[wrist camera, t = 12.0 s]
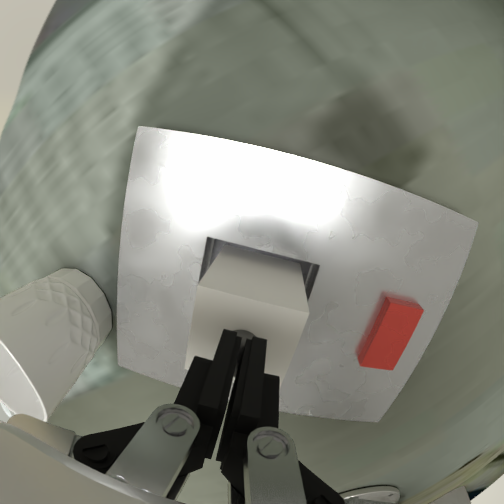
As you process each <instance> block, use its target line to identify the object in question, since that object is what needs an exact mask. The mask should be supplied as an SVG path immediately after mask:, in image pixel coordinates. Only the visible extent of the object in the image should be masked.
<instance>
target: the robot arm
mask: <svg viewBox="0 0 504 504" xmlns="http://www.w3.org/2000/svg"><path fill="white" fill-rule="evenodd" d="M241 340H242V337H239V336H237V332H235V331H231V330H227V329H223V332H222V335H221V338H220V341H219V344H218V347H217V350H216V352H215V355H214V358H213V360H209V359H206V358H202V357H199V356H194V358H193V361H192V363H191V365H190V368H189V370H188V372H187V375H186V377H185V379H184V382H183V384H182V386H181V388H180V391H179V393H178V395H177V398H176V400H175V402H174V404H165V405H162V406H160V407H158V408H157V409H155V410H154V411H153V412H152V414H151V415H150V416H149V418H148V419H147V420H146V422H143V423H139V424H135V425H131V426H127V427H123V428H119V429H114V430H109V431H105V432H100V433H95V434H89V435H86V436H83V437H82V436H79V435H76V433H75V432H74V431H71V430H68V429H64V428H61V427H58V426H56V425H53V424H50V423H47V422H44V421H42V420H39V419H37V418H34V417H32V416H29V415H26V414H16V415H14V416H12V417H11V418H10V419H9V420H8V422H7V423H6V422H3V421H0V504H185V503H181V502H178V501H176V500H177V498H178V496H179V494H180V493H181V491H182V489H183V487H184V485H185V483H186V481H187V479H188V477H189V475H190V473H191V472H193V471H196V470H198V469H200V468H202V467H203V463H204V459H205V458H208V459H211V458H212V454H213V451H214V448H215V444H216V441H217V438H218V434H219V431H220V428H221V424H222V421H223V418H224V414H225V410H226V407H227V402H228V398H229V394H230V389H231V385H232V380H233V376H234V372H235V367H236V363H237V358H238V354H239V349H240V345H241ZM266 348H267V339H263V338H259V337H255V336H253V337H252V340H251V339H246V342H245V345H244V349H243V352H242V356H241V359H240V363H239V366H238V370H237V373H236V377H235V380H234V384H233V387H232V391H231V395H230V400H229V404H228V409H227V413H226V417H225V422H224V426H223V431H222V435H221V440H220V444H219V448H218V453H217V457H216V461H220V462H221V467H220V469H221V470H222V471H221V473H222V474H223V475H224V476H225V477H226V479H227V480H228V504H398V503H397V501H398V500H399V498H400V493H399V490H398V489H397V488H395V487H391V486H376V487H368V488H363V489H357V490H353V491H349V492H346V493H342V494H338V493H337V492H336V491H334V490H333V489H332V488H331V487H329V486H328V485H327V484H326V483H324V482H323V481H322V480H321V479H320V478H318V477H317V476H316V475H315V474H314V473H312V472H311V471H310V470H309V469H308V468H307V467H305V466H304V465H303V464H302V463H301V462H300V461H299V460H298V458H297V453H296V448H295V444H294V442H293V439H292V438H291V437H290V436H289V435H288V434H287V433H286V432H284V431H283V430H280V429H278V420H279V388H280V377H279V376H276V375H271V374H266V373H264V370H265V359H266Z"/></svg>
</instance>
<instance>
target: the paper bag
mask: <svg viewBox="0 0 504 504" xmlns="http://www.w3.org/2000/svg"><path fill="white" fill-rule="evenodd" d="M429 504H471V502H470V499H469V497H468V494H467V491H466V488H465V486H462V487H459V488H457V489H454V490H452V491H450V492H449V493H447V494H445V495H444V496H442V497H440V498H438V499H437V500H435V501H433V502H431V503H429Z"/></svg>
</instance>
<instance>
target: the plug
mask: <svg viewBox="0 0 504 504" xmlns="http://www.w3.org/2000/svg"><path fill="white" fill-rule="evenodd" d="M308 316H309V308H308V302H307V297H306V292H305V286H304V281H303V276H302V271H301V265H300V263H296V262H292V261H288V260H284V259H280V258H276V257H272V256H268V255H264V254H260V253H256V252H253V251H249V250H245V249H241V248H237V247H233V246H229V245H224V246H223V248H222V249H221V251H220V252H219V254H218V255H217V257H216V258H215V260H214V261H213V263H212V264H211V266H210V267H209V269H208V270H207V272H206V273H205V275H204V276H203V278H202V279H201V281H200V282H199V284H198V286H197V291H196V297H195V303H194V309H193V315H192V321H191V328H190V334H189V341H188V347H187V354H186V361H185V368H184V369H186V370H189V368H190V365H191V363H192V361H193V358H194V356H199V357H202V358H206V359H209V360H213V358H214V355H215V352H216V350H217V347H218V344H219V341H220V338H221V335H222V332H223V329H227V330H231V331H235V332H237V336H239V337H242V340H241V345H240V349H239V354H238V358H237V363H236V367H235V372H234V376H233V380H232V382H233V383H234V380H235V377H236V373H237V370H238V366H239V363H240V359H241V356H242V352H243V349H244V345H245V342H246V339H251V340H252V337H253V336H255V337H259V338H263V339H267V348H266V359H265V370H264V373H266V374H271V375H276V376H279V377H280V386H281V384H282V382H283V379H284V377H285V375H286V372H287V370H288V367H289V365H290V362H291V360H292V357H293V355H294V352H295V350H296V347H297V345H298V342H299V340H300V337H301V334H302V332H303V329H304V326H305V324H306V321H307V318H308ZM279 389H280V388H279Z"/></svg>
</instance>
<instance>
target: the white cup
mask: <svg viewBox="0 0 504 504" xmlns="http://www.w3.org/2000/svg"><path fill="white" fill-rule="evenodd" d="M111 329H112V314H111V309H110V307H109V305H108V302H107V300H106V297H105V295H104V293H103V292H102V290H101V289H100V288H99V287H98V286H97V284H96V283H95V282H94V281H93V279H92V278H90V277H89V276H87V275H86V274H84V273H82V272H81V271H79V270H78V269H68V268H62V269H60V270H58V271H56V272H54V273H52V274H50V275H48V276H46V277H44V278H42V279H38V280H35V281H33V282H31V283H28V284H26V285H25V286H23V287H20V288H18V289H16V290H14V291H12V292H10V293H8V294H6V295H4V296H2V297H1V298H0V401H1V402H2V403H3V404H4V405H5V406H6V407H7V408H8V409H10V410H11V411H12V412H13V413H14V414H26V415H29V416H32V417H34V418H37V419H39V420H42V421H44V422H47V421H48V420H49V418H50V417H51V415H52V414H53V413H54V411H55V410H56V408H57V407H58V405H59V404H60V403H61V401H62V400H63V399H64V397H65V396H66V394H67V393H68V392H69V390H70V389H71V388H72V386H73V385H74V384H75V382H76V381H77V379H78V377H79V376H80V375H81V373H82V372H83V371H84V369H85V368H86V367H87V365H88V364H89V362H90V361H91V360H92V358H93V357H94V355H95V353H96V351H97V350H98V348H99V347H100V346H101V345H102V343H103V342H104V341H105V340H106V338H107V336H108V334H109V332H110V331H111Z"/></svg>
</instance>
